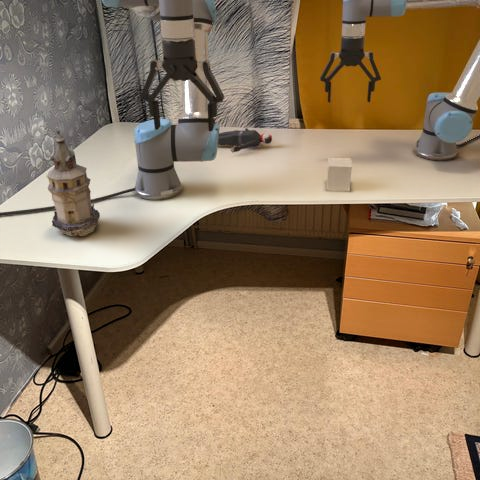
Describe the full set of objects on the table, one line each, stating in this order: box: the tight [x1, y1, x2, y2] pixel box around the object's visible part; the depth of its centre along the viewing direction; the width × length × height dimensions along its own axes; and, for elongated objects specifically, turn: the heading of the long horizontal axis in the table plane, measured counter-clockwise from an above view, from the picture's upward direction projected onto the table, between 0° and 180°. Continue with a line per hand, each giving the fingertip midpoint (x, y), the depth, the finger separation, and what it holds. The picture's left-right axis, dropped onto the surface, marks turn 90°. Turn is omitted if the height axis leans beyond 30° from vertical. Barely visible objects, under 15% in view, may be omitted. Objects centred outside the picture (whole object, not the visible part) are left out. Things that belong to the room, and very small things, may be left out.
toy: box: [218, 127, 273, 154], centre depth 215 cm, size 26×6×30 cm
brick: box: [326, 157, 353, 192], centre depth 178 cm, size 7×8×9 cm
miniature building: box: [46, 129, 101, 237], centre depth 148 cm, size 13×14×30 cm
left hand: (184, 128), depth 133 cm, fingers open, 13 cm apart
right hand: (348, 101), depth 186 cm, fingers open, 13 cm apart
